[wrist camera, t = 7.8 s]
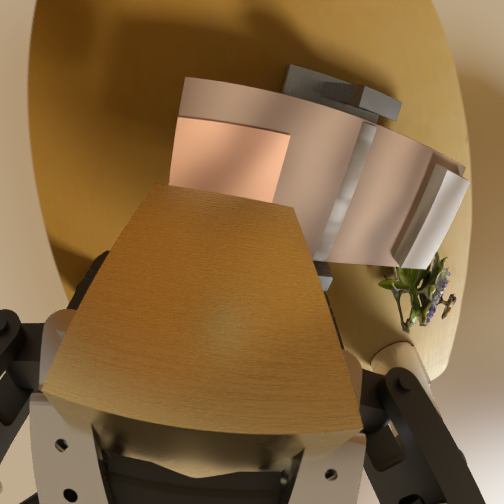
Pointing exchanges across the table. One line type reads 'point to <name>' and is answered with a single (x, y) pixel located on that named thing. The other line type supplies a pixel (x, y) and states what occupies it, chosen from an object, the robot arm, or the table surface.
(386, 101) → the pivot stand
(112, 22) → the table surface
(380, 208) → the beam
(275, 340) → the beige rectangular block
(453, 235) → the table surface
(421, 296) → the passion flower
